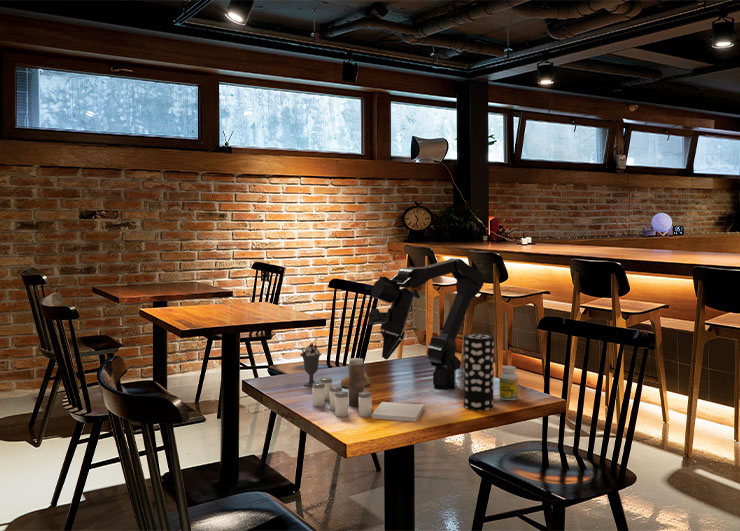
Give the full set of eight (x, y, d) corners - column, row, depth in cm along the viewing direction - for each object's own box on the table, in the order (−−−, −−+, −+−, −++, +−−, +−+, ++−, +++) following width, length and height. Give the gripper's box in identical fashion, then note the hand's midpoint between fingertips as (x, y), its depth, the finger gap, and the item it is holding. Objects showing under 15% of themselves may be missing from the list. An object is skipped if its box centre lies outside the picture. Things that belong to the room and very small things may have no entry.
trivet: (423, 408, 181) (423, 404, 181) (416, 421, 169) (416, 417, 169) (382, 406, 184) (382, 401, 184) (371, 418, 172) (371, 414, 172)
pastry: (349, 390, 202) (349, 378, 202) (335, 386, 208) (335, 374, 207) (371, 385, 209) (371, 373, 208) (358, 381, 214) (357, 370, 214)
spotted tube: (475, 412, 178) (475, 340, 176) (457, 404, 185) (457, 335, 184) (499, 408, 181) (499, 337, 180) (481, 401, 189) (481, 333, 188)
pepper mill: (365, 402, 187) (365, 358, 187) (361, 407, 183) (361, 361, 182) (351, 401, 188) (351, 357, 188) (347, 405, 184) (346, 360, 183)
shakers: (328, 396, 194) (328, 376, 194) (374, 415, 175) (374, 393, 175) (303, 401, 189) (303, 381, 189) (347, 421, 170) (347, 398, 170)
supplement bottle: (519, 397, 193) (519, 365, 192) (516, 402, 188) (517, 369, 187) (500, 396, 194) (501, 364, 194) (497, 400, 189) (498, 368, 189)
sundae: (325, 383, 210) (325, 337, 209) (315, 388, 204) (314, 341, 203) (307, 381, 213) (307, 336, 212) (297, 386, 207) (296, 339, 206)
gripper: (377, 304, 204) (361, 352, 201) (372, 295, 186) (355, 348, 183) (410, 314, 202) (396, 363, 200) (409, 307, 184) (393, 360, 182)
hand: (384, 358), depth 191 cm, fingers open, 9 cm apart
